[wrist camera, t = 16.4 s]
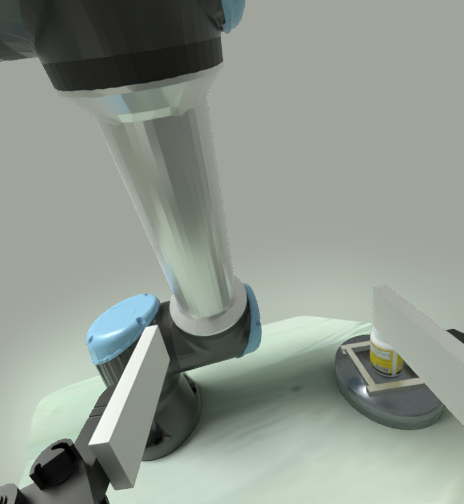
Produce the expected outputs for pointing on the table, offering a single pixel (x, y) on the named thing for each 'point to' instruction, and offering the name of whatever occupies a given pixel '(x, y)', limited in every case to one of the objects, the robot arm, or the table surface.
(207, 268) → the robot arm
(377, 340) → the supplement bottle
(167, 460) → the table surface
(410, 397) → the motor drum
